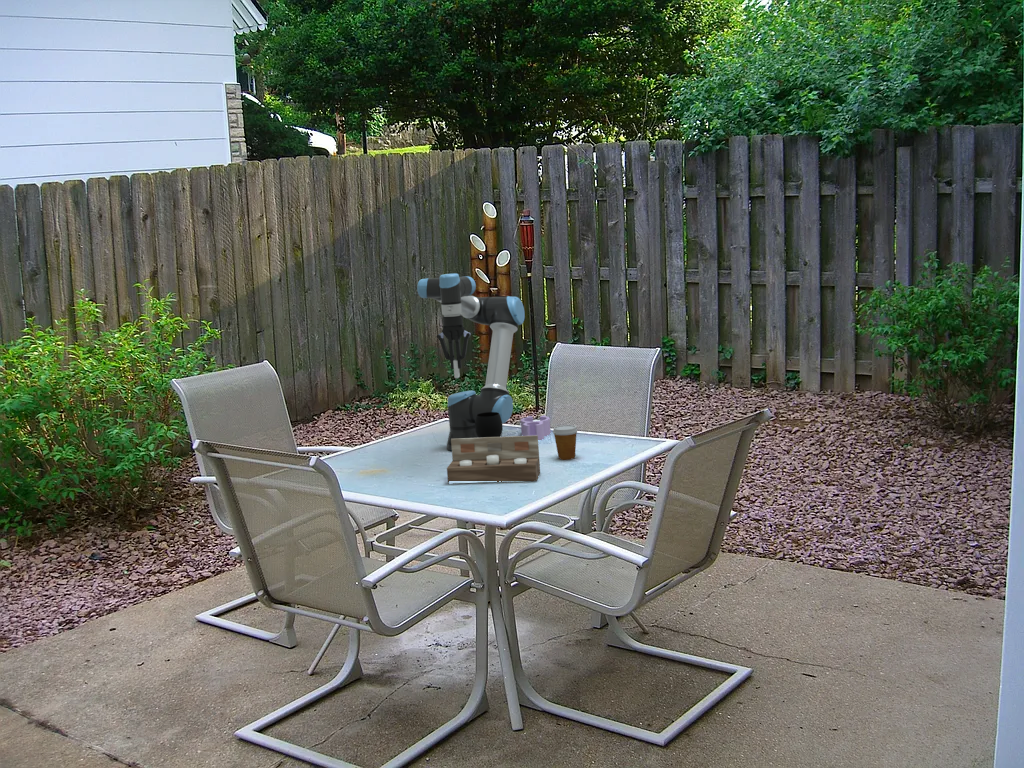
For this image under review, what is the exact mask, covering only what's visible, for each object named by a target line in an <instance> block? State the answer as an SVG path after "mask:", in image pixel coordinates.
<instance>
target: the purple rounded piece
mask: <svg viewBox="0 0 1024 768" xmlns="http://www.w3.org/2000/svg"><path fill="white" fill-rule="evenodd" d="M520 430H521V432H520V433H521V436H522V435H523V436H533V435H538V440H541V441H543V440H545V437H548V436H550V435H551V434H552V432H551V431H552V430H551V419H550V417H549V416H547V415H545V414H544V415H541V416H539V420H537V421H535V420H534V417H533V416H532V415H527V417H523V418H521V419H520ZM550 433H551V434H550ZM549 434H550V435H549ZM547 435H548V436H547ZM544 436H545V437H544ZM542 439H543V440H542Z"/></svg>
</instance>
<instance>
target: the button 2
mask: <svg viewBox="0 0 1024 768" xmlns="http://www.w3.org/2000/svg"><path fill="white" fill-rule="evenodd" d="M514 464H527V460H526V458H517V459H514Z"/></svg>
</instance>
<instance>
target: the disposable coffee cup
mask: <svg viewBox="0 0 1024 768" xmlns="http://www.w3.org/2000/svg"><path fill="white" fill-rule="evenodd" d="M577 428H578V427H577V426H576V425H572V424H563V425H558V426H554V427H553V430H552V433H553V436H554V440H555V445H556V446H555V447H556V451H557V457H558V459H559V460H563V461H568V460H569V461H571V460H573V459H575V457H576V449H577V448H576V446H577V433H578V429H577Z"/></svg>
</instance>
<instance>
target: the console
mask: <svg viewBox="0 0 1024 768" xmlns="http://www.w3.org/2000/svg"><path fill="white" fill-rule="evenodd" d="M451 446H452V451H451V455H452V456H451V458H452V461H451V462H450V464H449V465H448V466H447V467H446V475H447V483H448V482H449V481H497V482H499V481H501V482H502V481H531V482H537V481H538V479H539V477H540V474H541V464H540V462H541V461H540V449H539V441H538V435H533V436H522V435H513V436H511V435H510V436H508V435H507V436H500V437H483V438H458V439H451ZM489 455H498V456H499V465H487V458H486V457H487V456H489ZM517 458H526V460H527V464H514V459H517ZM462 460H471V461H472V466H460V461H462ZM538 476H539V477H538ZM502 483H503V482H502Z"/></svg>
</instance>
